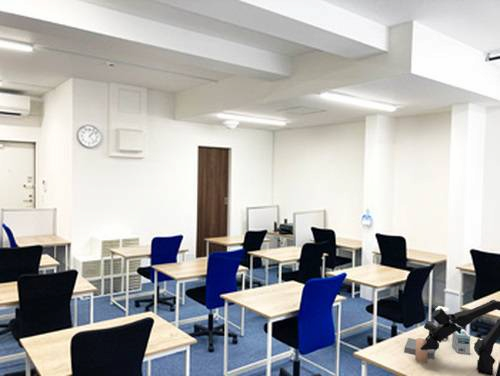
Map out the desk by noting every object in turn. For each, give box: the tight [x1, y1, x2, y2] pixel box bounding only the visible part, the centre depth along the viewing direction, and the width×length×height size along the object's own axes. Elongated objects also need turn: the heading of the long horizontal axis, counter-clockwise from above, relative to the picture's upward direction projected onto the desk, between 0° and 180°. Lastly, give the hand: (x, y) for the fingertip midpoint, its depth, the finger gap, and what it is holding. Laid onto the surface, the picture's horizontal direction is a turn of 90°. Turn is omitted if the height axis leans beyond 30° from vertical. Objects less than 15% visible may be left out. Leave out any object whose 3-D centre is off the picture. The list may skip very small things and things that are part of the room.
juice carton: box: [433, 305, 451, 342], centre depth 240 cm, size 8×9×19 cm
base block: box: [404, 337, 436, 360], centre depth 222 cm, size 15×15×3 cm
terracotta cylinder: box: [414, 338, 428, 364], centre depth 210 cm, size 6×6×11 cm
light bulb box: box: [451, 328, 471, 355], centre depth 224 cm, size 11×7×11 cm, turn 168°
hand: (422, 346), depth 209 cm, fingers open, 9 cm apart
